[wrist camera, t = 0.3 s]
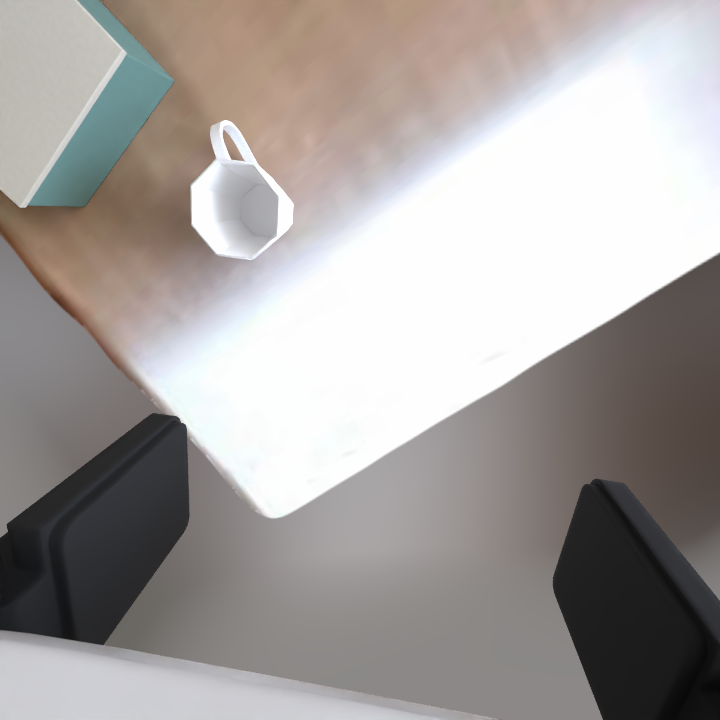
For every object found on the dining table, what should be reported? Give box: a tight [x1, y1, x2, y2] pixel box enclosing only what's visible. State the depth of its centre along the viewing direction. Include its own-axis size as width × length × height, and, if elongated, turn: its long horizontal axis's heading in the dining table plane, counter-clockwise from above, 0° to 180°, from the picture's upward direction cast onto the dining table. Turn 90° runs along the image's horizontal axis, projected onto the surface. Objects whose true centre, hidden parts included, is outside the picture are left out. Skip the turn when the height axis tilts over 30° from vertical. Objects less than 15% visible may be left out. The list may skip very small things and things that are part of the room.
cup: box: [190, 120, 293, 260], centre depth 33 cm, size 7×10×8 cm
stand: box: [0, 0, 174, 208], centre depth 32 cm, size 14×16×7 cm
